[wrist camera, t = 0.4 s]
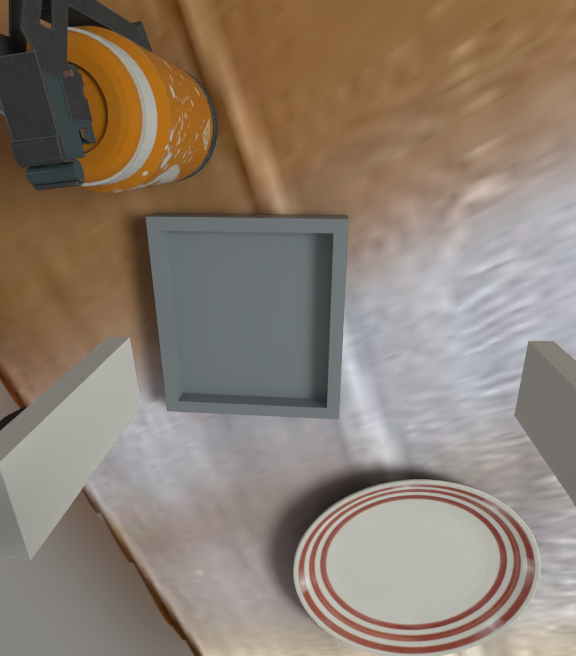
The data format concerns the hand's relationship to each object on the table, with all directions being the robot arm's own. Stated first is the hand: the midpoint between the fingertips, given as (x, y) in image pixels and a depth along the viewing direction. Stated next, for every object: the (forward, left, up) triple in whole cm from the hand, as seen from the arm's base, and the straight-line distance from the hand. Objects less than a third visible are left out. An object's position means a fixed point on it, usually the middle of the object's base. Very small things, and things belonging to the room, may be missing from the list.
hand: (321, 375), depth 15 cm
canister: (-10, -14, -28) cm, 33 cm away
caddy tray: (+8, -7, -28) cm, 29 cm away
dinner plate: (+38, +11, -28) cm, 48 cm away
